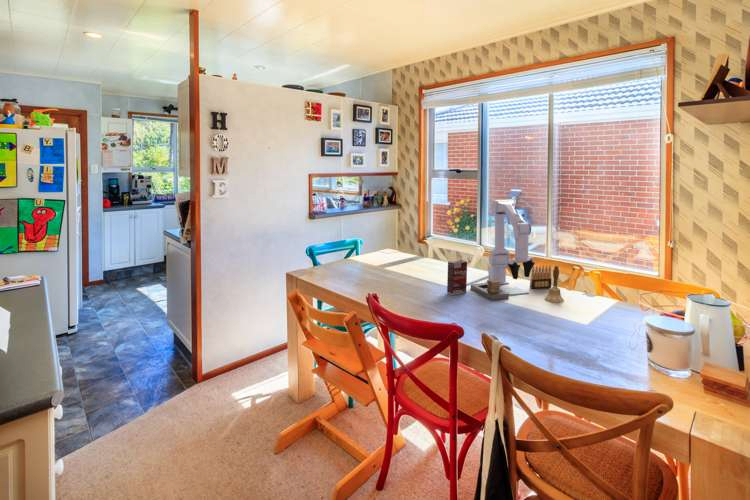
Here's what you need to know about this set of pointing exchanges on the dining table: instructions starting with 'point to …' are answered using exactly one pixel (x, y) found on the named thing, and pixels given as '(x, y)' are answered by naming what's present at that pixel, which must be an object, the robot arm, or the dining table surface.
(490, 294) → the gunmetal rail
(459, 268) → the supplement box
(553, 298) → the hand bell
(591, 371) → the dining table surface
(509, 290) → the blue-grey board
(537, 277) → the ammunition clip
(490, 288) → the walnut peg
